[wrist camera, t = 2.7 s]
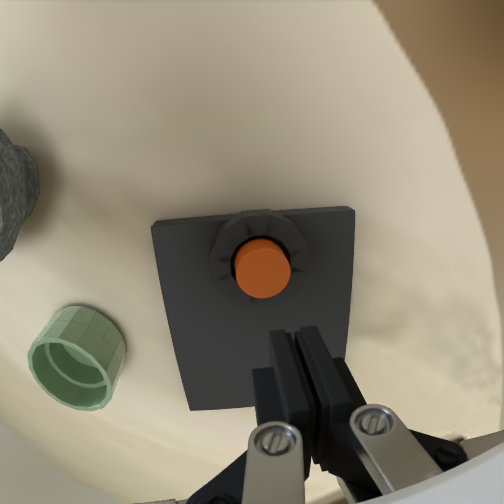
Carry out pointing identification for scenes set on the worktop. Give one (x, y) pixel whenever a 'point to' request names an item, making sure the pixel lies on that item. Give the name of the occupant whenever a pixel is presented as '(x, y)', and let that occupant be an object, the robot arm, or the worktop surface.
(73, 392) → the bowl
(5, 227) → the mortar and pestle
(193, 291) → the scale
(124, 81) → the worktop surface
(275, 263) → the button
